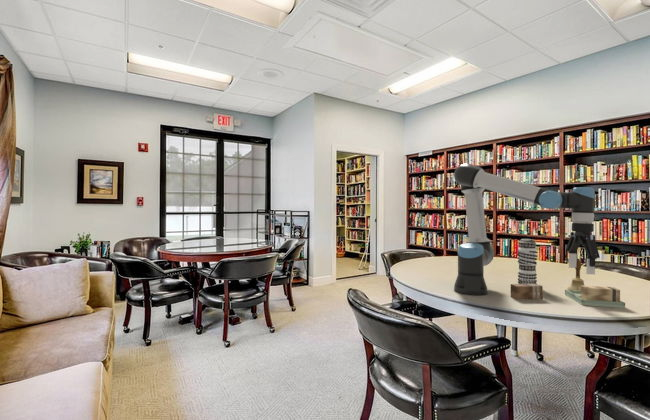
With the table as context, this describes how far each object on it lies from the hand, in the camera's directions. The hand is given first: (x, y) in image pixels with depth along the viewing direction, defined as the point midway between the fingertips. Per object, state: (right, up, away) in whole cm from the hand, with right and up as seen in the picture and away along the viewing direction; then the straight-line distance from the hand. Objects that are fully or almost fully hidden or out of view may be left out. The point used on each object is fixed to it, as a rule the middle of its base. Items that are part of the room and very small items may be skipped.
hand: (581, 270), depth 139 cm
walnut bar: (-20, -14, +7) cm, 25 cm away
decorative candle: (-5, -14, +29) cm, 32 cm away
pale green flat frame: (+7, -14, +2) cm, 16 cm away
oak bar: (+6, -13, -2) cm, 14 cm away
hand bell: (+15, -14, +21) cm, 29 cm away
